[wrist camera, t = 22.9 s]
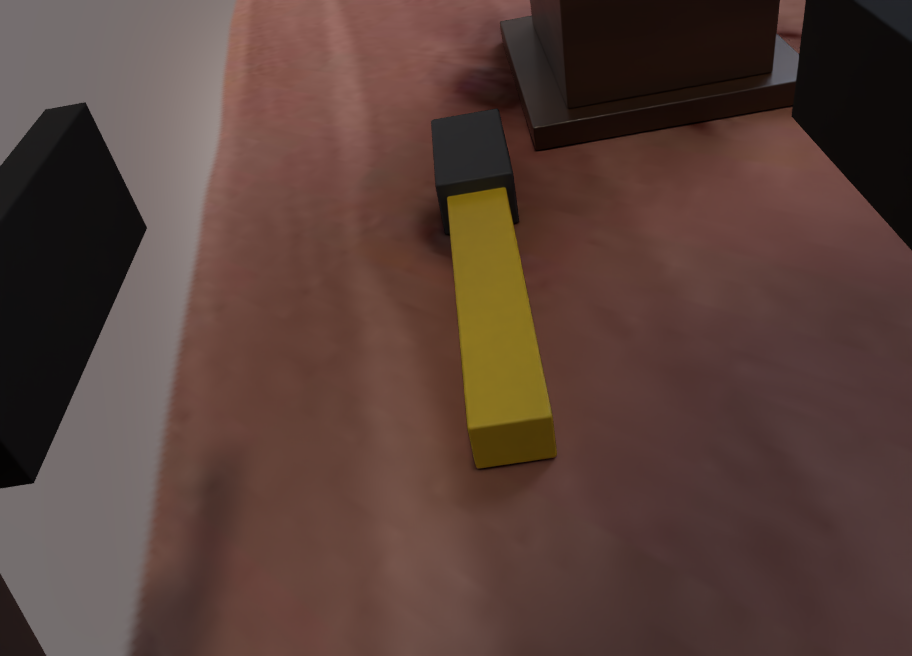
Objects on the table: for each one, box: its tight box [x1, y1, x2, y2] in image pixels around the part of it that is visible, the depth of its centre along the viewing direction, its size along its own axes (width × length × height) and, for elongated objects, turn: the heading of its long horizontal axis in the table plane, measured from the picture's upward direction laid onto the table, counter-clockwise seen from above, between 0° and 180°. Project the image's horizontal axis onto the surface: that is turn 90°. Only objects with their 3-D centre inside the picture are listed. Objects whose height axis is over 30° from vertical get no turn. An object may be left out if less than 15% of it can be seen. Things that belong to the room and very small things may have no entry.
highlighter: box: [431, 109, 557, 468], centre depth 24 cm, size 16×3×2 cm, turn 3°
